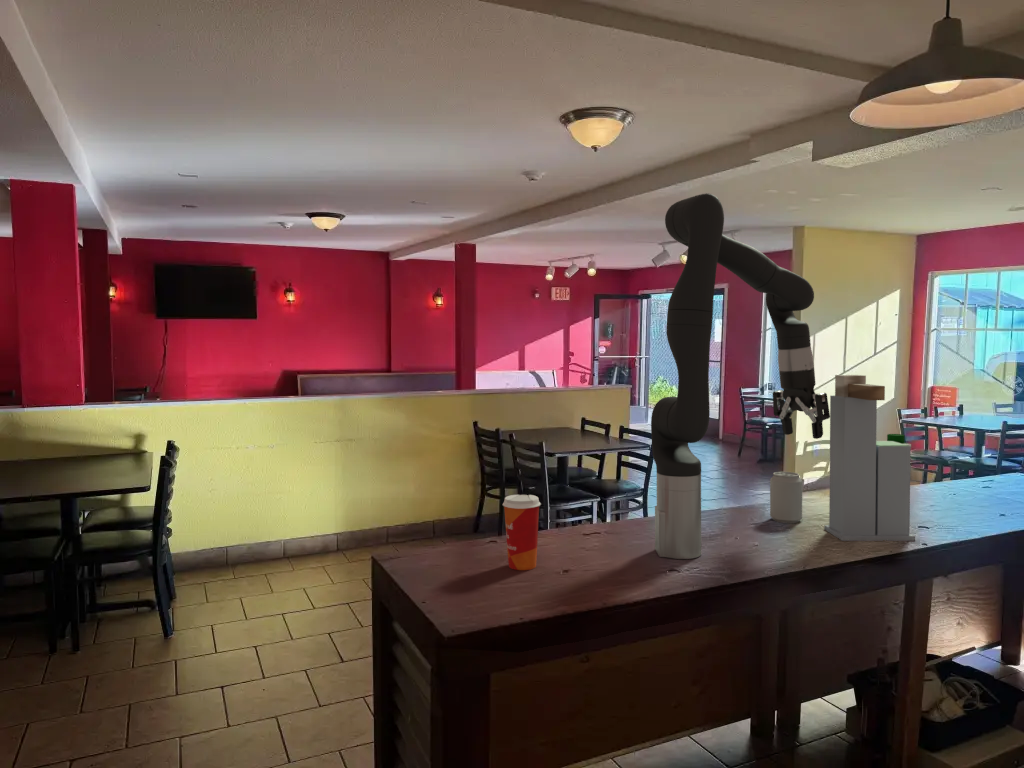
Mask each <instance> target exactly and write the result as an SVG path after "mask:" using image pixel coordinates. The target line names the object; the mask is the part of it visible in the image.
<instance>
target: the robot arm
mask: <svg viewBox="0 0 1024 768" xmlns="http://www.w3.org/2000/svg"><path fill="white" fill-rule="evenodd" d="M724 213H725V212H724V207H723V204H722V202H721V200H720V199H719V198H718V197H717V195H714V194H712V193H706V192H705V193H701V194H697V195H694V196H691V197H687V198H684V199H681V200H678V201H676V202H675V203H673V204H671V205H670V206H669V208H668V209H667V211H666V213H665V218H664V224H665V228H666V231H667V232H668V234H669V236H671V238H672V239H674V240H675V241H676V242H679V243H680V244H681V245H683V246H686V247H687V255H686V259H685V264H684V267H683V269H682V272H681V274H680V276H679V278H678V280H677V282H676V283H675V286H674V288H673V290H672V292H671V294H670V298H669V301H668V305H667V306H668V307H667V317H666V331H665V332H666V338H667V343H668V346H669V349H670V352H671V354H672V356H673V359H674V362H675V364H676V369H677V375H678V377H677V378H678V382H677V384H678V385H677V396H665V397H663V398H661V399H659V400H658V401H657V402H656V403H655V404H654V407H653V410H652V412H651V418H650V419H651V420H650V428H651V429H650V432H651V448H652V452H651V453H652V458H653V460H654V463H655V466H656V505H655V506H654V549H655V552H656V553H657V555H658V557H660V558H668V559H675V560H677V559H678V560H688V559H689V560H690V559H695V558H698V557H700V556H701V555H702V547H703V546H702V545H703V544H702V462H701V460H700V459H699V458H698V457H697V456H695V454H694V453H693V452H692V451H691V449H690V447H689V444H694V443H698V442H699V441H701V440H702V439H703V438H704V437H705V436H706V434H707V432H708V428H709V425H710V415H711V414H710V377H709V374H710V373H709V372H710V355H711V354H710V353H711V340H712V339H711V337H712V328H713V317H714V313H713V312H714V297H715V286H716V276H717V268H718V267H717V266H718V264H719V265H720V266H722V267H724V268H725V269H727V270H728V271H730V272H731V273H732V274H734V275H735V276H737V277H738V278H739V279H740V280H742V281H743V282H744V283H746V284H747V285H749V287H750V288H752V289H754V291H757V292H759V293H762V294H763V293H764V294H765V304H766V309H767V311H768V314H769V317H770V319H771V322H772V324H773V327H774V329H775V331H776V341H777V362H778V364H777V365H778V373H779V383H780V388H781V390H780V389H779V390H775V391H773V392H772V403H773V404H772V406H773V407H772V408H773V415H774V416H775V417H779V419H780V420H781V428H782V432H783V435H785V436H789V435H791V434H793V433H794V429H793V419H792V415H793V414H794V412H795V411H799V412H803V413H804V415H806V416H808V417H809V419H810V421H811V433H812V438H813V439H814V440H815V439H816V440H819V439H821V438H822V437H823V435H824V427H823V425H824V424H823V421H826V420H828V419H829V420H830V405H829V401H828V399H829V398H828V394H827V393H826V392H821V393H820V392H819V393H816V392H815V389H814V388H815V386H816V375H815V364H814V355H813V350H812V343H811V335H810V334H811V333H810V327H809V324H808V323H807V322H805V321H803V320H800V319H799V320H798V319H797V318H796V315H795V313H794V312H798V311H800V312H801V311H804V310H806V309H809V307H810V306H811V305H812V304H813V302H814V300H815V291H814V289H813V287H812V285H811V284H810V282H809V281H808V280H806V279H805V277H802V276H801V275H799V274H797V273H795V272H793V271H790V270H789V269H786V268H784V267H781V266H780V265H777V263H776V262H774V261H773V260H772V259H770V258H769V257H768V256H767V255H765V254H764V253H763V252H762V251H760V250H758V249H757V248H755V247H753V246H751V245H749V244H746V243H744V242H741V241H739V240H736V239H733V238H731V237H729V236H726V235H724V234H723V231H724V224H725V214H724Z"/></svg>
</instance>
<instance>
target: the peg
mask: <svg viewBox="0 0 1024 768" xmlns="http://www.w3.org/2000/svg"><path fill="white" fill-rule="evenodd" d="M834 376H835V377H834V381H835V382H834V396H841V397H852V398H858V399H865V400H877V401H886V396H885V394H886V387H885V385H879V384H868V383H867V375H862V374H835V375H834Z"/></svg>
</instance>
